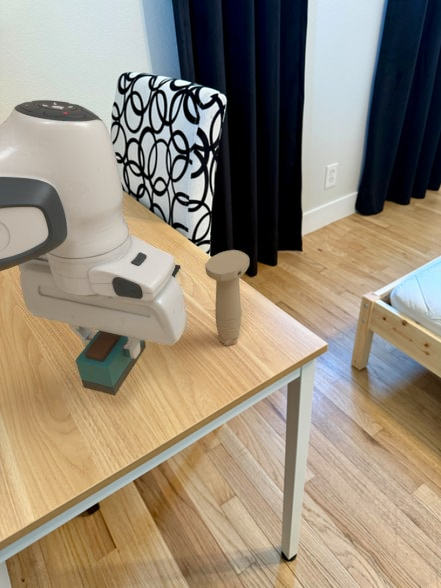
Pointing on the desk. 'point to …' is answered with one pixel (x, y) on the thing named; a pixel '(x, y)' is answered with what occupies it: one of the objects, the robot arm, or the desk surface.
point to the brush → (105, 362)
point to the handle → (227, 292)
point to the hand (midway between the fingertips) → (112, 349)
